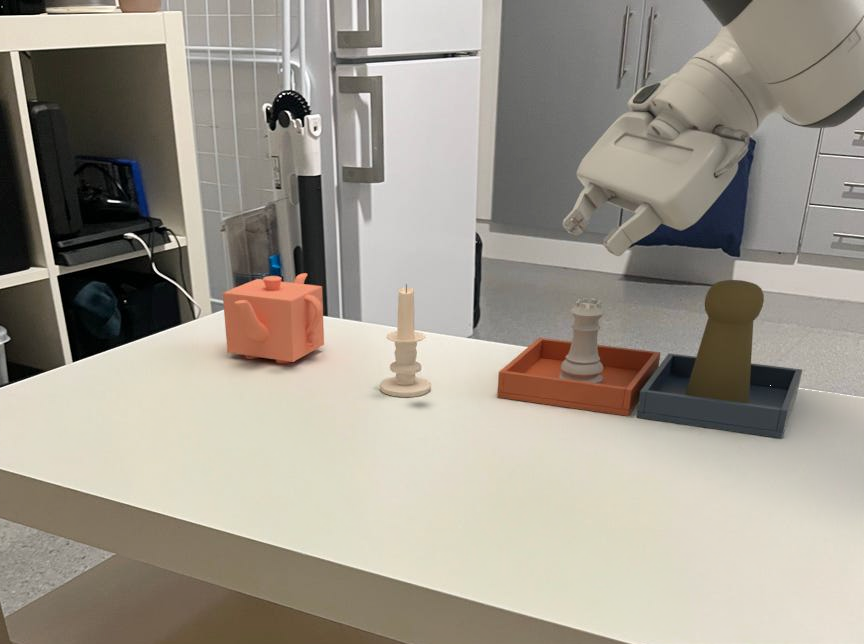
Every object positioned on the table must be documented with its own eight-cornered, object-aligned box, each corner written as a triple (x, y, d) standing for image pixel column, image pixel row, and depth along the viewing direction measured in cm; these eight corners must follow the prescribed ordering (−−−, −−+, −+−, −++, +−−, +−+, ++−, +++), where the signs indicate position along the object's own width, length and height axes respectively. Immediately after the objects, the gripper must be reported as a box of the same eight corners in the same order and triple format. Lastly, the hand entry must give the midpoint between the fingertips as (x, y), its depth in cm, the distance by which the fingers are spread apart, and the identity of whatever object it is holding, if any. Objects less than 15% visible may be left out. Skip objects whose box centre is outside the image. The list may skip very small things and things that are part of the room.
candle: (425, 398, 101) (427, 291, 95) (374, 395, 102) (374, 288, 96) (435, 382, 105) (437, 278, 100) (386, 379, 106) (386, 276, 101)
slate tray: (796, 394, 102) (802, 369, 100) (781, 438, 92) (787, 410, 90) (664, 377, 106) (668, 353, 105) (636, 417, 96) (640, 390, 95)
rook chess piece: (583, 391, 101) (592, 309, 97) (549, 381, 104) (556, 301, 99) (611, 382, 103) (621, 302, 99) (577, 372, 106) (585, 293, 102)
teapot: (194, 365, 110) (186, 286, 106) (265, 331, 122) (260, 258, 117) (289, 380, 106) (285, 298, 101) (353, 343, 117) (352, 268, 113)
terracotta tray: (657, 376, 107) (660, 352, 105) (628, 416, 97) (631, 389, 95) (536, 361, 111) (538, 337, 110) (497, 397, 101) (498, 371, 100)
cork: (739, 412, 96) (762, 293, 90) (676, 401, 98) (694, 284, 92) (756, 394, 100) (779, 279, 94) (695, 384, 103) (714, 271, 97)
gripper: (778, 163, 86) (656, 288, 90) (665, 136, 103) (566, 242, 106) (740, 105, 83) (616, 237, 86) (630, 87, 100) (529, 198, 103)
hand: (588, 240), depth 96 cm, fingers open, 8 cm apart
